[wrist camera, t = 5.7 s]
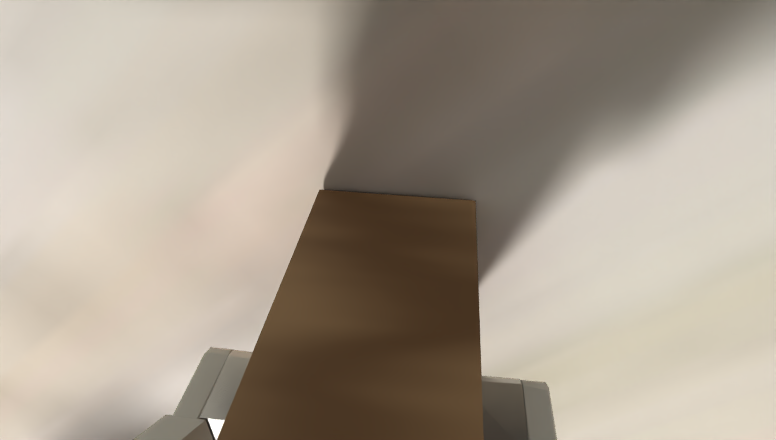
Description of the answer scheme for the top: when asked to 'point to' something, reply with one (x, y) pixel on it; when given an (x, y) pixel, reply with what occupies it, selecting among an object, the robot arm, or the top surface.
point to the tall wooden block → (370, 328)
